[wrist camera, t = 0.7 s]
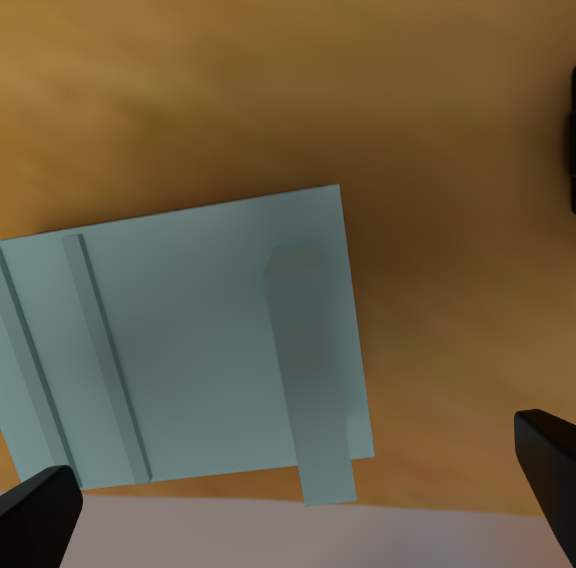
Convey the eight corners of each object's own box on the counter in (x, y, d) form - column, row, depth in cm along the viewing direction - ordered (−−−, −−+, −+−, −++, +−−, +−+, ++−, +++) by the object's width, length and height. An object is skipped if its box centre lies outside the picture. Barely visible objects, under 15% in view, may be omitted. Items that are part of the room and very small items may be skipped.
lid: (335, 182, 15) (351, 191, 10) (369, 433, 18) (396, 545, 13) (-35, 244, 16) (-197, 281, 11) (47, 471, 19) (-52, 588, 14)
